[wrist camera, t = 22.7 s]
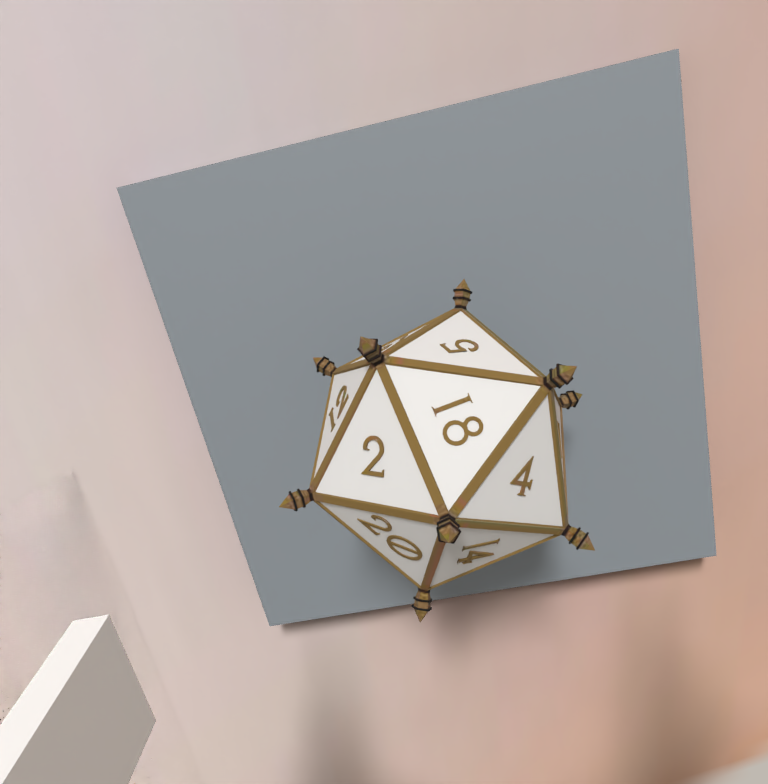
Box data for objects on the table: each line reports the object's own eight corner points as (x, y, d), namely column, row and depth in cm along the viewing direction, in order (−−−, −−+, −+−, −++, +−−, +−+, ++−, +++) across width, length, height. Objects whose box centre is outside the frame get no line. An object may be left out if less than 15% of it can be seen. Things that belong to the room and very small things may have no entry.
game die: (600, 437, 25) (705, 621, 16) (393, 529, 27) (378, 742, 18) (492, 214, 22) (542, 276, 13) (271, 332, 24) (178, 460, 15)
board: (276, 603, 30) (269, 626, 29) (134, 184, 24) (116, 187, 23) (701, 534, 28) (716, 555, 27) (661, 53, 22) (678, 48, 21)
